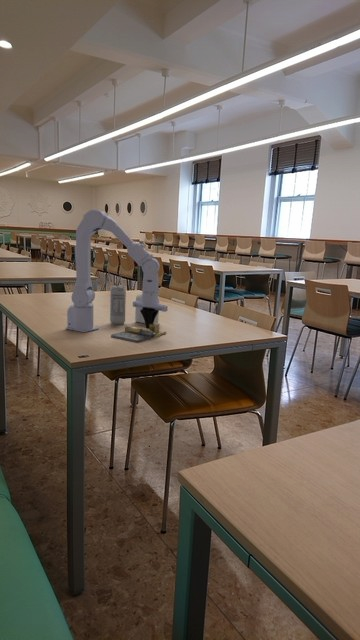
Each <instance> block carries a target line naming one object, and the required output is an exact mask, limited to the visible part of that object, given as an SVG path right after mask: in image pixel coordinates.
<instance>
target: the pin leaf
mask: <svg viewBox="0 0 360 640" xmlns="http://www.w3.org/2000/svg"><path fill="white" fill-rule="evenodd" d="M155 336H156V334H155V333H154V332H152V331H147V330H140V334H134V333H129V332H125V330H124V331H121V332H116V333H113V334H110V337H111V338H115V339H119V340H124V341H129V342H133V343H137V344H138V343H142V342H145V341H148V340H151V339H154V338H156V337H155Z"/></svg>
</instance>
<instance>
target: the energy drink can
mask: <svg viewBox="0 0 360 640" xmlns="http://www.w3.org/2000/svg"><path fill="white" fill-rule="evenodd" d="M126 293H127V291H126V289H125V286H122V285H115V286H114V285H113V286H111V289H110V300H109V301H110V303H109V304H110V305H109V309H110V310H109V313H110V314H109V322H110V323H111V325H115V326H119V325H120V326H121V325H122V326H123V325H124V324H125V322H126V297H127V295H126Z"/></svg>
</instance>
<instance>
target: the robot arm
mask: <svg viewBox="0 0 360 640" xmlns="http://www.w3.org/2000/svg"><path fill="white" fill-rule="evenodd" d="M100 230H105V231H107V232H110V233H112V235H114V236H115V238H116V239H118V240H119V241H120V242H121V243H122V244H123V245H124V246H125V247H126V249H127V251H126V252H127V254H128V256H129V257H130V258H132V260H133V262H135V263H136V264H137V265H138V266H140V267H141V270H142V272H143V275H142V276H143V278H142V292H141V294H142V302H140V301H136V300H134V301H132V308H136V307H141V308H143V309H142V310H140V312H141V313H142V315H143V318H144V321H145V323H144V325H145V328H147V329H149V324H152V323H153V322H154V320H155V317H156V315H157V314H158V312H159V311H161V312H163V313H164V312H165V313H166V312H168V311H169V310H168V305H165V304H160V303H159V304H158V298H159V271H160V268H161V267H160V266H161V265H160V262H159V261H158V259H157V258H155V257H154V255H153V254H151V253H150V252H149V251H148V250H147V249H146V248H145V245H144V243H141V242H139V241H134V240H133V239H132V238H131V237H130V236H129V235H128V233H126V231H125V230H124V229H123V228H122V226H120V224H119V223H118V222H117V221H116V220H115V219H114V218H113V217H111V216H110V215H108V213H107V212H106V211H104V210H99V209H97V208H95V209H94V208H93V209H90V210H89V211H87V212H85V213H84V214H83V216H82V219H81V220H80V223H79V225H78V226H77V228H76V230H75V242H76V243H75V255H76V256H75V259H76V261H75V262H76V265H75V267H76V269H75V272H76V273H75V274H76V279H75V280H76V281H75V283H74V285H73V292H72V295H71V302H72V303H73V304H72V305H69V307H68V309H67V311H66V312H67V313H66V314H67V316H66V317H67V320H66V321H67V322H66V325H67V326H66V327H65V329H67V330H71V331H75V332H80V333H87V332H91V331H95V330H99V327H97V326H94V304H93V301H94V300H95V297H96V293H95V290H94V288H93V282H92V277H91V275H92V273H91V271H92V269H91V268H92V264H91V263H92V260H91V259H92V258H91V257H92V254H91V253H92V250H91V247H92V246H91V243H92V242H91V241H92V240H91V237H92V236H93V235H94V234H95V233H97V232H98V231H100ZM151 307H152V308H151ZM159 313H160V312H159Z"/></svg>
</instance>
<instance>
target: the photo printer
mask: <svg viewBox="0 0 360 640" xmlns="http://www.w3.org/2000/svg"><path fill="white" fill-rule="evenodd" d="M135 301H140V302H142V293H139V294H137V295H136V298H135ZM158 304H160V297H158ZM151 308H152V307H151ZM142 309H143V308H141V307H135V312H134V313H135V315H134V320H135V322H136V323H140V324H145V321H144V318H143V315H142V313H141V312H140V310H142ZM159 313H160V312H158V314H157V315H156V317H155V320H154V322H153V323H157V324H159Z"/></svg>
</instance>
